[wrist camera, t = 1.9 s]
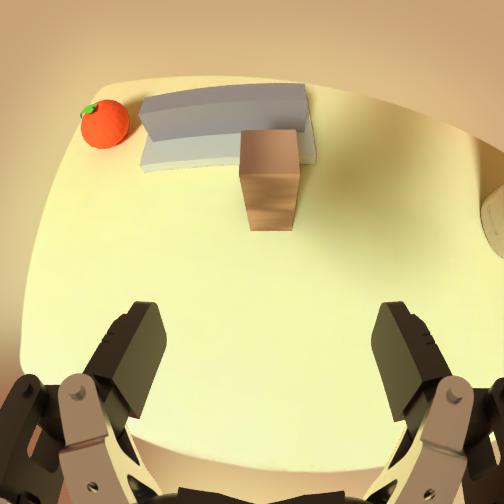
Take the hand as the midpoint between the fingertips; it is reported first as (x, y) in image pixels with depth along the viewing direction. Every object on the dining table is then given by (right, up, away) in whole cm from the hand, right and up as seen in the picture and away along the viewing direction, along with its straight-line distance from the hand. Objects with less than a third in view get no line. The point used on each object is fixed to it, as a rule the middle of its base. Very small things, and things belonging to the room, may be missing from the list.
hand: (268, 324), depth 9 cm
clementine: (-20, +19, +24) cm, 37 cm away
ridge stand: (-4, +17, +22) cm, 28 cm away
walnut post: (+1, +7, +18) cm, 19 cm away
